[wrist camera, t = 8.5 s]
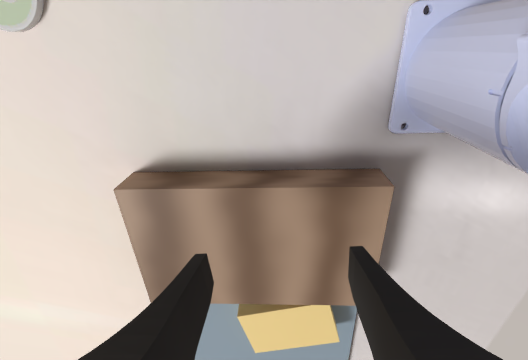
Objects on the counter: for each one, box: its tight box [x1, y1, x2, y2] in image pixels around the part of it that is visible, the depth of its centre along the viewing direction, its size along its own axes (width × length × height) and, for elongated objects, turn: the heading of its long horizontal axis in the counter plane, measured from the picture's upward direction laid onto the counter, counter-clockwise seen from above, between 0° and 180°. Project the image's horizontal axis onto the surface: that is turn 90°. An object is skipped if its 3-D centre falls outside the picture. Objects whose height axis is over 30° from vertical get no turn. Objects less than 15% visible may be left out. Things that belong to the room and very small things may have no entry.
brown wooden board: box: [114, 169, 394, 306], centre depth 23 cm, size 20×12×3 cm, turn 92°
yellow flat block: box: [237, 304, 340, 353], centre depth 27 cm, size 9×6×2 cm, turn 107°
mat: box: [195, 304, 357, 360], centre depth 30 cm, size 20×15×1 cm
